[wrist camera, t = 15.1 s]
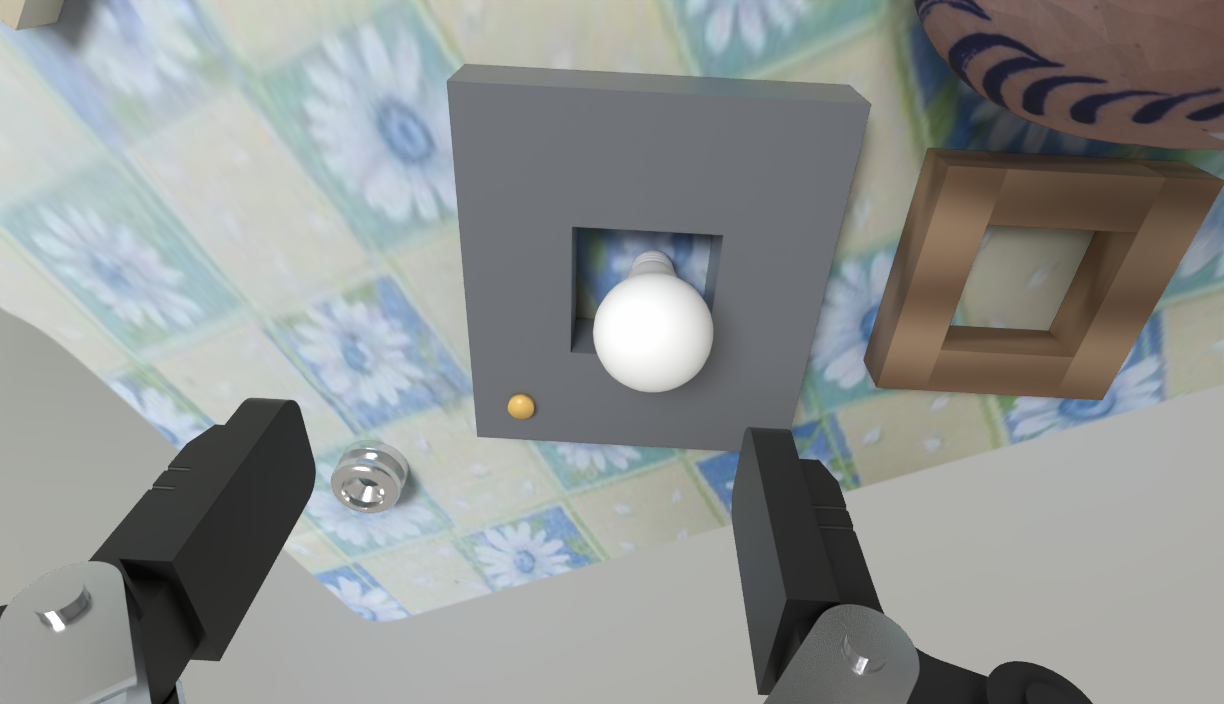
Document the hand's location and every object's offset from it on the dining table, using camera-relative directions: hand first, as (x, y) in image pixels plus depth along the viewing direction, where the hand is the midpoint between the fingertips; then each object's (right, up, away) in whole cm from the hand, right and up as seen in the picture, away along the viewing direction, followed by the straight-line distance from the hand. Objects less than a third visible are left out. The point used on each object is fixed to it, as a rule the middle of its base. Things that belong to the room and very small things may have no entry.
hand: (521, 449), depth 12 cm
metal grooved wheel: (-16, -7, +39) cm, 43 cm away
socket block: (+4, +7, +29) cm, 30 cm away
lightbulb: (+4, +7, +29) cm, 30 cm away
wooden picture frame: (+26, +7, +28) cm, 39 cm away
